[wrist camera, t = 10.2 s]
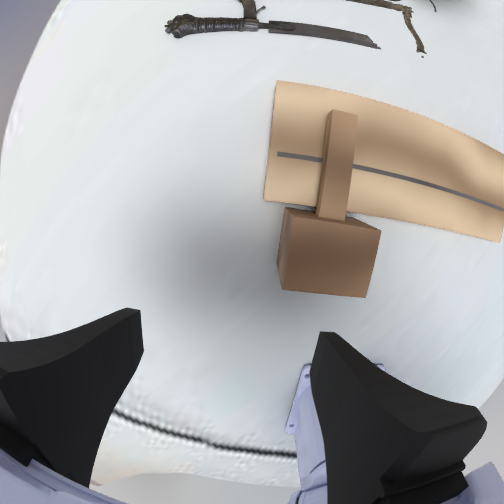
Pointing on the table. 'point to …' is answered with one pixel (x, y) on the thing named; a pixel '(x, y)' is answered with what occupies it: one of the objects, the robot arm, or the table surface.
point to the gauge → (329, 226)
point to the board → (386, 163)
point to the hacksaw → (283, 25)
